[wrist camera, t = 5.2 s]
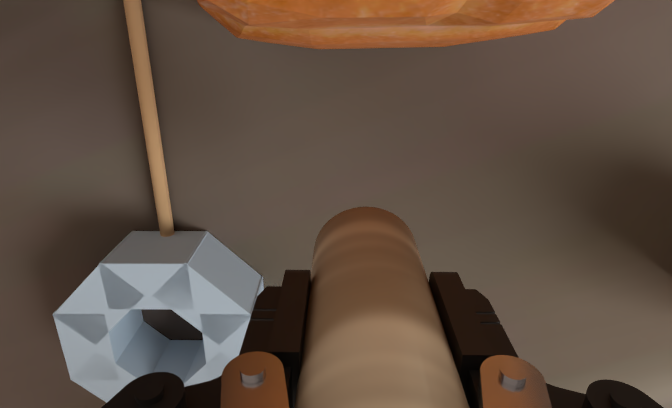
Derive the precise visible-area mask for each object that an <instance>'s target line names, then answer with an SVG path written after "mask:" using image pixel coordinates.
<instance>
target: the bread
mask: <svg viewBox="0 0 672 408" xmlns="http://www.w3.org/2000/svg"><path fill="white" fill-rule="evenodd" d="M197 1H198V3H199V5H200V6H201V7H202V8H203V9H204V10H205V11H207V12H208V13H209V14H210V15H211V16H212V17H214V18H215V19H216V20H217V21H218V22H219V23H221V24H222V25H223V26H224V27H225V28H226V29H227V30H229V31H230V32H231V33H232V34H233V35H234V36H236V37H237V38H242V39H249V40H255V41H262V42H268V43H276V44H283V45H291V46H298V47H306V48H314V49H351V48H401V47H444V46H451V45H458V44H465V43H471V42H478V41H485V40H492V39H499V38H506V37H512V36H519V35H525V34H531V33H537V32H543V31H548V30H554V29H555V28H557V27H558V26H559V25H560V24H562V23H563V22H564V21H565V20H567V19H578V18H589V17H593V16H595V15H596V14H597V13H598V12H600V11H601V10H602V9H604V8H605V7H606V6H608V5H609V4H610V3H612V2H613V1H614V0H197Z"/></svg>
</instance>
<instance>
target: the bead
mask: <svg viewBox="0 0 672 408" xmlns="http://www.w3.org/2000/svg"><path fill="white" fill-rule="evenodd" d="M263 290H264V288H263V276H261V275H260V274H258V273H257V272H256V271H255V270H254V269H252V268H251V267H250V266H249V265H248V264H246V263H245V262H244V261H243V260H241V259H240V258H239V257H238V256H237V255H235V254H234V253H233V252H232V251H231V250H229V249H228V248H227V247H226V246H224V245H223V244H222V243H221V242H220V241H218V240H217V239H216V238H215V237H214V236H212V235H211V234H210V233H209V232H208V231H174V235H172V236H168V237H163V236H161V235H160V231H134V230H133V231H131V232H130V233H129V234H128V235H127V236H126V237H125V238H124V239H123V240H122V241H121V242H120V243H119V244H118V245H117V246H116V247H115V248H114V249H113V250H112V251H111V252H110V253H109V254H108V255H107V256H106V257H105V258H104V259H103V260H102V261H101V262H100V263H99V265H98V266H97V267H96V268H95V270H94V271H93V272H92V273H91V274H90V275H89V276H88V277H87V278H86V279H85V280H84V282H83V283H82V284H81V285H80V286H79V287H78V288H77V289H76V290H75V291H74V292H73V294H72V295H71V296H70V297H69V298H68V299H67V300H66V301H65V302H64V303H63V304H62V305H61V306H60V307H59V308H58V309H57V310H56V311H55V312H54V313H53V315H52V316H53V317H54V320H55V324H56V328H57V331H58V335H59V338H60V342H61V346H62V349H63V353H64V357H65V360H66V364H67V368H68V371H69V375H70V379H71V380H72V381H74V382H75V383H77V384H79V385H80V386H82V387H83V388H85V389H86V390H88V391H89V392H91V393H92V394H94V395H95V396H97V397H99V398H100V399H102V400H103V401H105V402H106V403H107V402H108V401H109V400H110V399H112V398H113V397H114V396H115V395H116V394H117V393H118V392H119V391H120V390H122V389H123V388H124V387H125V386H126V385H127V384H129V383H130V382H131V381H133V380H134V379H136V378H138V377H140V376H143V375H146V374H149V373H154V372H169V373H173V374H175V375H177V376H178V377H180V378H181V380H182V381H183V383H184V387H186V386H190V385H194V384H199V383H203V382H207V381H210V380H213V379H215V378H218V377H219V376H221V375H222V372H223V370H224V368H225V366H226V365H227V364H228V363H229V362H230V361H231V360H232V359H234V358H235V357H237V356H239V353H240V350H241V346H242V343H243V340H244V337H245V333H246V330H247V327H248V324H249V321H250V317H251V314H252V311H253V307H254V304H255V301H256V298H257V296H258V295H259V294H260V293H261V292H262V291H263ZM141 309H171V310H173V311H174V312H175V313H177V314H178V315H179V316H181V317H182V318H183V319H185V320H186V321H187V322H189V323H190V324H191V325H193V326H194V327H195V328H197V329H198V330H199V331H201V332H202V335H203V340H169V339H168V338H167V337H165V336H164V335H162V334H161V333H160V332H158V331H157V330H155V329H154V328H153V327H151V326H150V325H149V324H147V323H146V322H144V320H143V315H142V310H141Z"/></svg>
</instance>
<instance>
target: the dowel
mask: <svg viewBox="0 0 672 408" xmlns="http://www.w3.org/2000/svg"><path fill="white" fill-rule="evenodd" d="M294 408H469V405H468V402H467V399H466V396H465V392H464V389H463V386H462V383H461V380H460V377H459V374H458V371H457V368H456V365H455V362H454V359H453V356H452V353H451V350H450V347H449V344H448V340H447V337H446V334H445V331H444V328H443V325H442V322H441V319H440V316H439V313H438V310H437V307H436V304H435V301H434V298H433V295H432V292H431V288H430V285H429V282H428V279H427V276H426V273H425V270H424V267H423V264H422V261H421V258H420V255H419V252H418V249H417V246H416V243H415V240H414V237H413V234H412V232H411V231H410V229H409V228H408V226H407V225H406V224H405V223H404V222H403V221H402V220H401V219H400V218H399V217H397V216H396V215H394V214H393V213H391V212H388V211H386V210H383V209H380V208H375V207H358V208H352V209H349V210H346V211H343V212H341V213H339V214H337V215H336V216H334V217H333V218H332V219H330V220H329V221H328V222H327V223H326V224H325V225H324V226H323V228H322V229H321V231H320V232H319V234H318V236H317V239H316V242H315V246H314V254H313V262H312V270H311V285H310V294H309V302H308V310H307V319H306V327H305V335H304V344H303V352H302V360H301V369H300V375H299V379H298V384H297V391H296V399H295V407H294Z"/></svg>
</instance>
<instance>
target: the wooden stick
mask: <svg viewBox="0 0 672 408" xmlns="http://www.w3.org/2000/svg"><path fill="white" fill-rule="evenodd" d="M123 2H124V8H125V14H126V21H127V27H128V33H129V40H130V46H131V52H132V59H133V65H134V71H135V78H136V84H137V90H138V97H139V103H140V109H141V116H142V122H143V128H144V135H145V141H146V147H147V154H148V160H149V166H150V173H151V179H152V185H153V192H154V198H155V204H156V211H157V217H158V223H159V229H160V235H161V236H163V237H168V236H172V235H174V225H173V218H172V211H171V204H170V197H169V190H168V183H167V177H166V170H165V163H164V156H163V149H162V142H161V135H160V128H159V121H158V114H157V108H156V101H155V94H154V87H153V80H152V73H151V66H150V59H149V52H148V45H147V39H146V32H145V25H144V18H143V11H142V4H141V0H123Z"/></svg>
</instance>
